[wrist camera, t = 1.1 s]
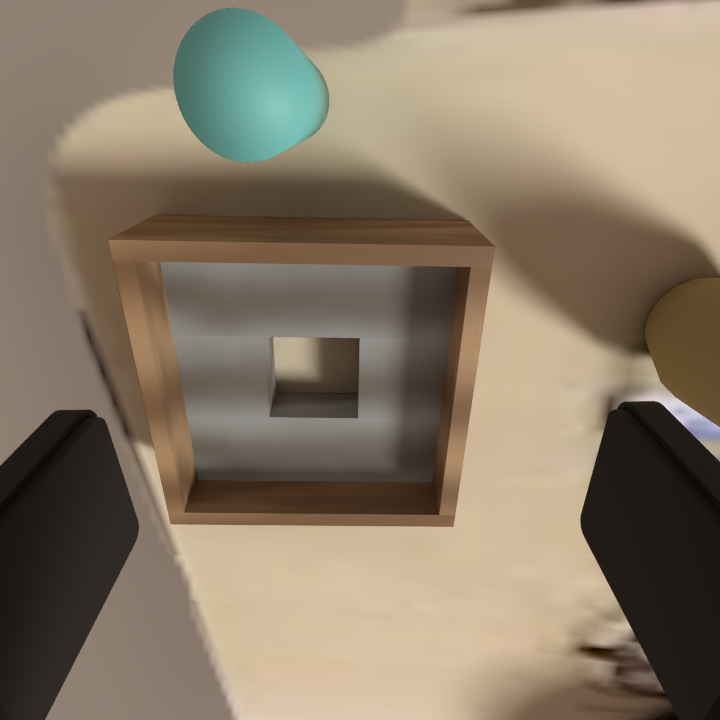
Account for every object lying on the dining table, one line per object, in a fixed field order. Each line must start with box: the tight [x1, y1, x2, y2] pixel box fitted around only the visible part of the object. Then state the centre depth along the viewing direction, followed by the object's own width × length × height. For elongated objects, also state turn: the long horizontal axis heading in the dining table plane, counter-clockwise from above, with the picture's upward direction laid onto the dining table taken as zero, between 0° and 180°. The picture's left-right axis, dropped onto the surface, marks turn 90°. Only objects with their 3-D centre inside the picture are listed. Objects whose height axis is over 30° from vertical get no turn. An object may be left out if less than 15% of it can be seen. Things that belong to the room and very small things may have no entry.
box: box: [108, 215, 495, 527], centre depth 29 cm, size 18×18×6 cm
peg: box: [174, 8, 329, 162], centre depth 20 cm, size 4×4×12 cm
